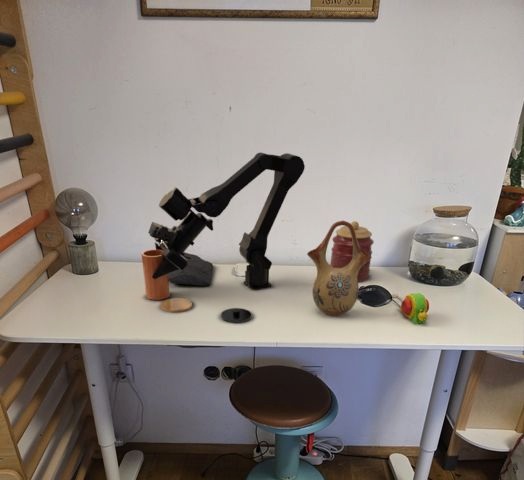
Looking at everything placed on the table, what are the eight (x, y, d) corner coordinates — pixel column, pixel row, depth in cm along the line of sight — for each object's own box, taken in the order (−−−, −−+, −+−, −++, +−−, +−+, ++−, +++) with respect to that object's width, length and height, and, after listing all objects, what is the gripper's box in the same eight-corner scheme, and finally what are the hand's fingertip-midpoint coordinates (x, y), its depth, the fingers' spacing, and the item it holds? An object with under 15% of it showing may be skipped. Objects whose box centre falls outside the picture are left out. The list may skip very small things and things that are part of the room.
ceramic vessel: (302, 318, 123) (309, 223, 111) (303, 305, 131) (309, 215, 119) (365, 322, 122) (379, 226, 110) (361, 308, 130) (374, 217, 118)
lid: (241, 308, 128) (241, 302, 128) (257, 319, 123) (257, 312, 122) (215, 314, 125) (215, 307, 124) (230, 325, 119) (230, 319, 118)
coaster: (184, 298, 134) (184, 296, 133) (197, 308, 128) (196, 306, 127) (156, 303, 130) (156, 301, 129) (168, 314, 124) (167, 312, 123)
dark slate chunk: (160, 287, 140) (159, 272, 138) (168, 264, 159) (167, 250, 157) (211, 287, 141) (211, 272, 139) (213, 264, 160) (213, 250, 158)
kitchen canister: (375, 281, 150) (383, 225, 141) (337, 283, 147) (343, 227, 138) (359, 268, 161) (365, 216, 152) (323, 270, 158) (328, 217, 149)
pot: (164, 289, 138) (161, 248, 132) (173, 296, 133) (169, 254, 127) (143, 293, 135) (138, 251, 129) (151, 301, 130) (146, 258, 124)
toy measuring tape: (411, 327, 120) (416, 303, 117) (382, 298, 137) (386, 276, 134) (434, 326, 121) (439, 302, 118) (403, 297, 138) (407, 276, 135)
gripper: (159, 204, 132) (123, 246, 134) (171, 220, 117) (131, 266, 118) (188, 230, 138) (154, 269, 140) (203, 248, 123) (165, 292, 125)
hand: (151, 273), depth 131 cm, fingers closed on pot, 7 cm apart
